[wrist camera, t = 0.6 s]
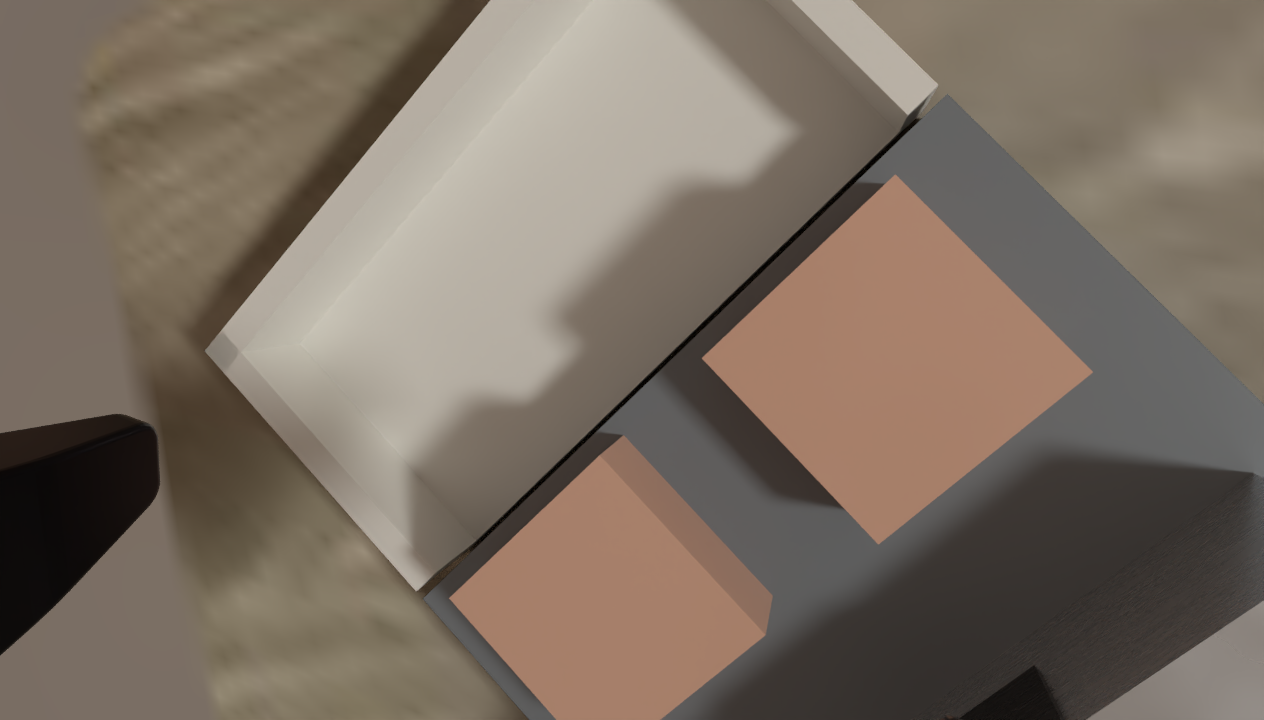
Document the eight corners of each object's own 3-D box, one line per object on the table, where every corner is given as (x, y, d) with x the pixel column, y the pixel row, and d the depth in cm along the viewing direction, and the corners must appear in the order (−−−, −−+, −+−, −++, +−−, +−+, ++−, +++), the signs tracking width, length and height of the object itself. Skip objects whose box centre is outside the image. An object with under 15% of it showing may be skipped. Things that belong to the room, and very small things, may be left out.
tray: (922, 111, 19) (938, 85, 16) (467, 550, 24) (416, 591, 21) (677, -131, 20) (650, -198, 17) (279, 340, 24) (204, 350, 21)
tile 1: (1062, 359, 16) (1093, 372, 14) (873, 513, 18) (878, 544, 16) (888, 184, 17) (895, 174, 15) (715, 347, 18) (701, 357, 16)
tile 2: (772, 595, 18) (765, 635, 16) (622, 719, 20) (599, 768, 18) (623, 434, 19) (599, 454, 17) (486, 565, 20) (449, 598, 18)
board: (1342, 525, 18) (1438, 575, 15) (783, 904, 23) (775, 999, 20) (930, 118, 19) (947, 93, 16) (473, 557, 24) (422, 598, 21)
